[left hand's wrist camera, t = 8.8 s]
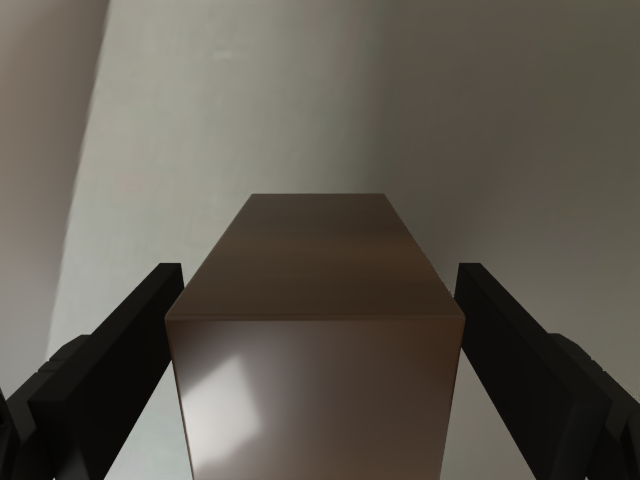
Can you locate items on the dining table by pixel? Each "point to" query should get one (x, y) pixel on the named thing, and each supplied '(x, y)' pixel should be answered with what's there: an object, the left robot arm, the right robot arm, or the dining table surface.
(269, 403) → the bar
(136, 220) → the dining table surface
